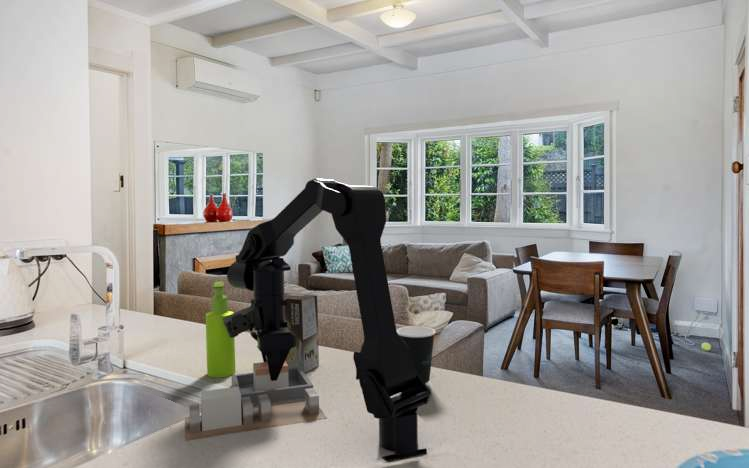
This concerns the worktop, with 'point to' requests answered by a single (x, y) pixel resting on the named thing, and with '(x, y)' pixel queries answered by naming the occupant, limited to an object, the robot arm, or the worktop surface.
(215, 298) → the soap dispenser
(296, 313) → the coffee box
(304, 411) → the board
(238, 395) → the block
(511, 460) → the worktop surface
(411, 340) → the dixie cup
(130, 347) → the worktop surface
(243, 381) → the tray
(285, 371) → the block
